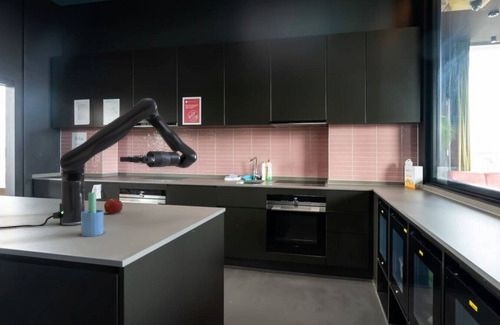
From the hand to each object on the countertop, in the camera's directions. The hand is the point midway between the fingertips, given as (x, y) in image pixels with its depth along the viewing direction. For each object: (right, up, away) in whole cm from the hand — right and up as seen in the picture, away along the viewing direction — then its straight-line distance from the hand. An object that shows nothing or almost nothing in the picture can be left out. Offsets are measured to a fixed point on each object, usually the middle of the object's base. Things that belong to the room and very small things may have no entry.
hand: (124, 159), depth 133 cm
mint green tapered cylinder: (-10, -29, -7) cm, 32 cm away
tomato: (-20, -29, +35) cm, 50 cm away
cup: (-10, -30, -7) cm, 33 cm away
